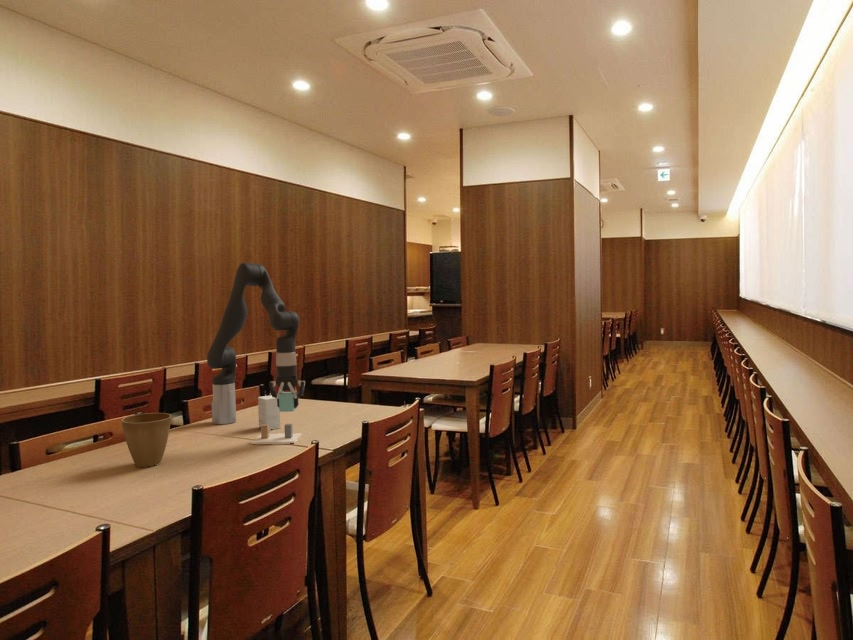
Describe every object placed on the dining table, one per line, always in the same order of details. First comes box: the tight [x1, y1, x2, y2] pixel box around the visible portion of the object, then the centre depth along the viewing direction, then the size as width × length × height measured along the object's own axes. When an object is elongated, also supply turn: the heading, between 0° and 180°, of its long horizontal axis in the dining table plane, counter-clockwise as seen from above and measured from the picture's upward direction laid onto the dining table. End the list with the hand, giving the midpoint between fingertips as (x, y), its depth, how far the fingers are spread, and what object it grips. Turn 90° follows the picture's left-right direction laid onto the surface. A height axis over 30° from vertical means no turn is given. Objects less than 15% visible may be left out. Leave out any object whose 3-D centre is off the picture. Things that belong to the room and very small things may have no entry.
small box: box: [257, 394, 281, 431], centre depth 237 cm, size 8×6×13 cm
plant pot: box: [121, 412, 172, 468], centre depth 189 cm, size 15×15×16 cm
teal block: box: [279, 391, 297, 413], centre depth 216 cm, size 5×5×7 cm
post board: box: [251, 423, 302, 445], centre depth 217 cm, size 16×12×6 cm
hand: (287, 407), depth 217 cm, fingers closed on teal block, 5 cm apart
